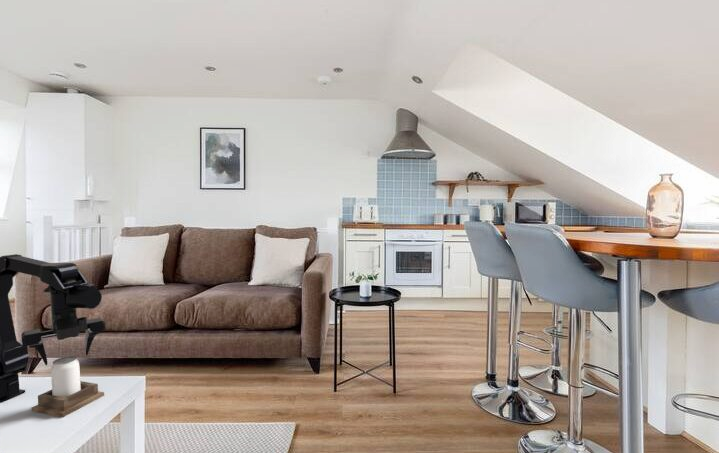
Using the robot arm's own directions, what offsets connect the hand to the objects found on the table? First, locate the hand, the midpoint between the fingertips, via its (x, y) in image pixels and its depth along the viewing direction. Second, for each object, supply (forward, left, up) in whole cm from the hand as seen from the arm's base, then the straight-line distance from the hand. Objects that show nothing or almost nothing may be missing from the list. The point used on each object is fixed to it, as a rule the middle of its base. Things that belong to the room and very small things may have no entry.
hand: (66, 359), depth 108 cm
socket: (0, 0, -13) cm, 13 cm away
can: (0, 0, -12) cm, 12 cm away
